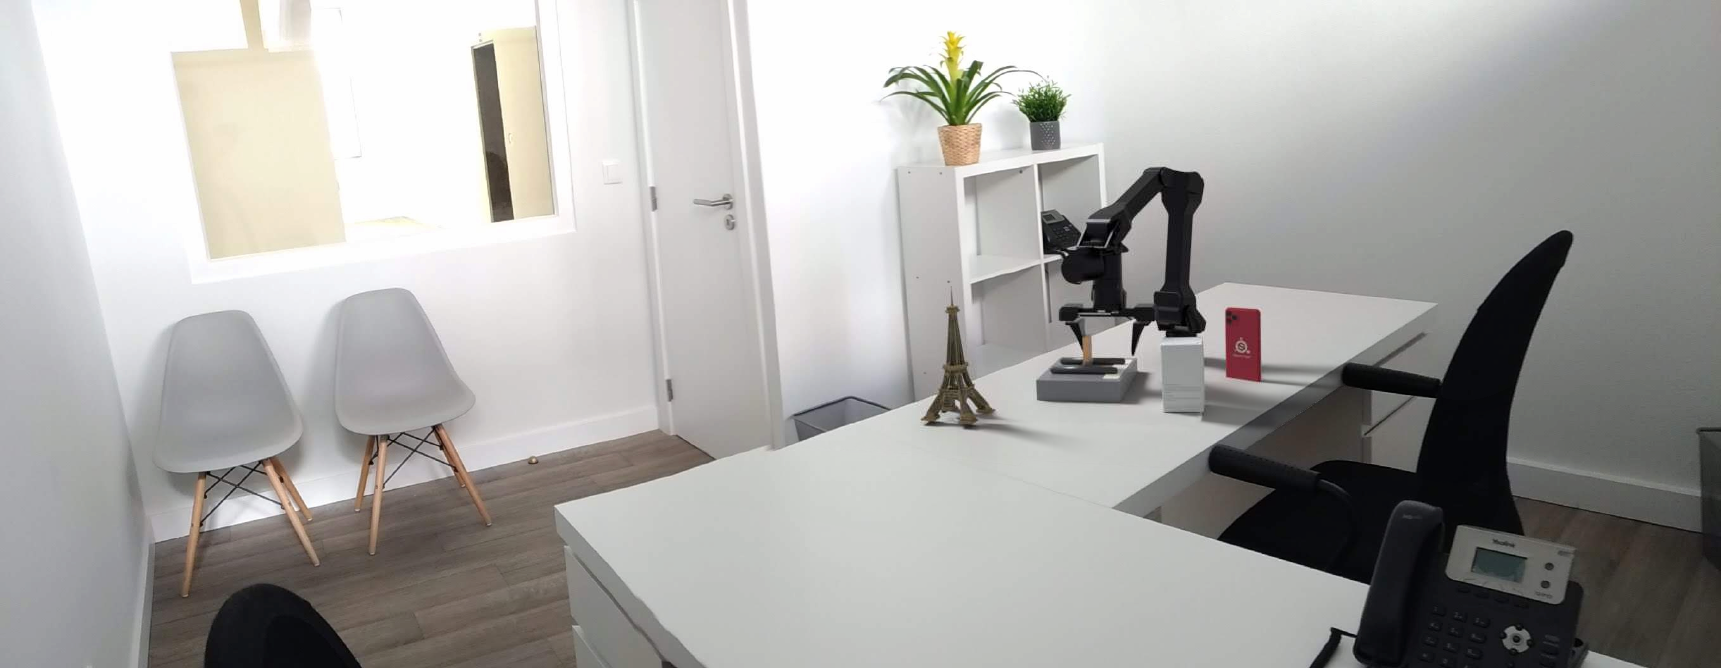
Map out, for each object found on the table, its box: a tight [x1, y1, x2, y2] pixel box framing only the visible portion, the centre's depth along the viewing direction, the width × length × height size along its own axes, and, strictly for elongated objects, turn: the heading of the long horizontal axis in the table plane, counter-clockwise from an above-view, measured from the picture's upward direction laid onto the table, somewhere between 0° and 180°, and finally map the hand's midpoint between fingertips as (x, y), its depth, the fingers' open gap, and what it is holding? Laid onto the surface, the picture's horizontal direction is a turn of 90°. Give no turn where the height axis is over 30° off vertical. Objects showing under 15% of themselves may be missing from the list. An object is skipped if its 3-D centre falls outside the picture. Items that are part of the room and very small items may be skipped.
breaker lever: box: [1082, 333, 1094, 367], centre depth 217 cm, size 2×4×6 cm, turn 157°
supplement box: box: [1159, 336, 1206, 413], centre depth 197 cm, size 7×7×13 cm
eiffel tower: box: [920, 287, 996, 425], centre depth 202 cm, size 11×11×25 cm
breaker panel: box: [1035, 356, 1138, 403], centre depth 218 cm, size 16×22×5 cm
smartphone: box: [1224, 306, 1262, 383], centre depth 212 cm, size 7×1×15 cm, turn 42°
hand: (1109, 355), depth 215 cm, fingers open, 9 cm apart
